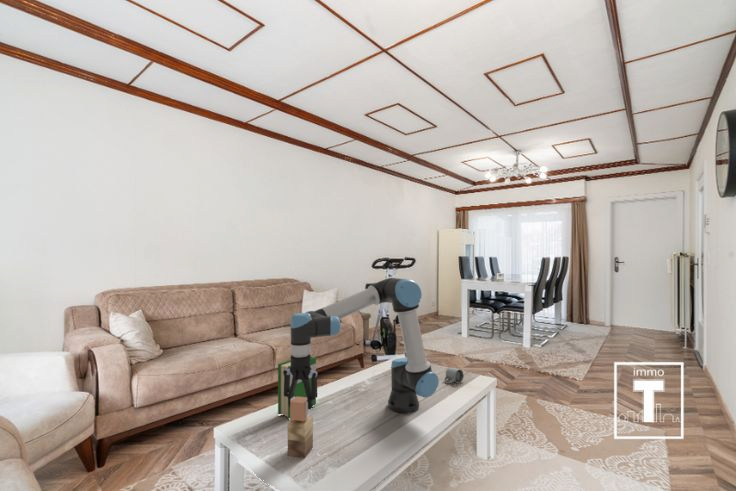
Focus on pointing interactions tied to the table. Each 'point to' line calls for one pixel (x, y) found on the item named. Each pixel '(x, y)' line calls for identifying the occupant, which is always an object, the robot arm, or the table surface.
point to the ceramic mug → (454, 375)
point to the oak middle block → (300, 429)
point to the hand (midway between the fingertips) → (300, 416)
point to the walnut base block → (300, 447)
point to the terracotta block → (298, 409)
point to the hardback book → (299, 389)
